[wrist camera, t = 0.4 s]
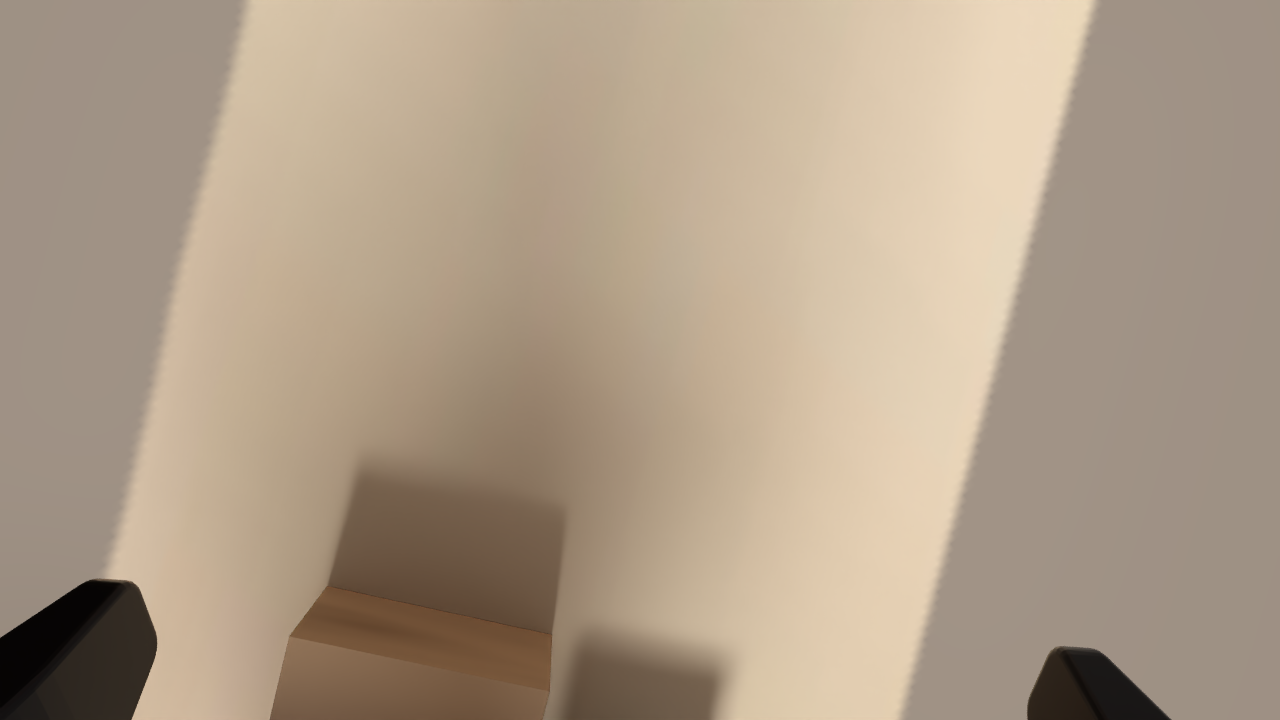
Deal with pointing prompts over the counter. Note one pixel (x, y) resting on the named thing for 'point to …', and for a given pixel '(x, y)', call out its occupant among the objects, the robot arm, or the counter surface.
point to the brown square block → (409, 664)
